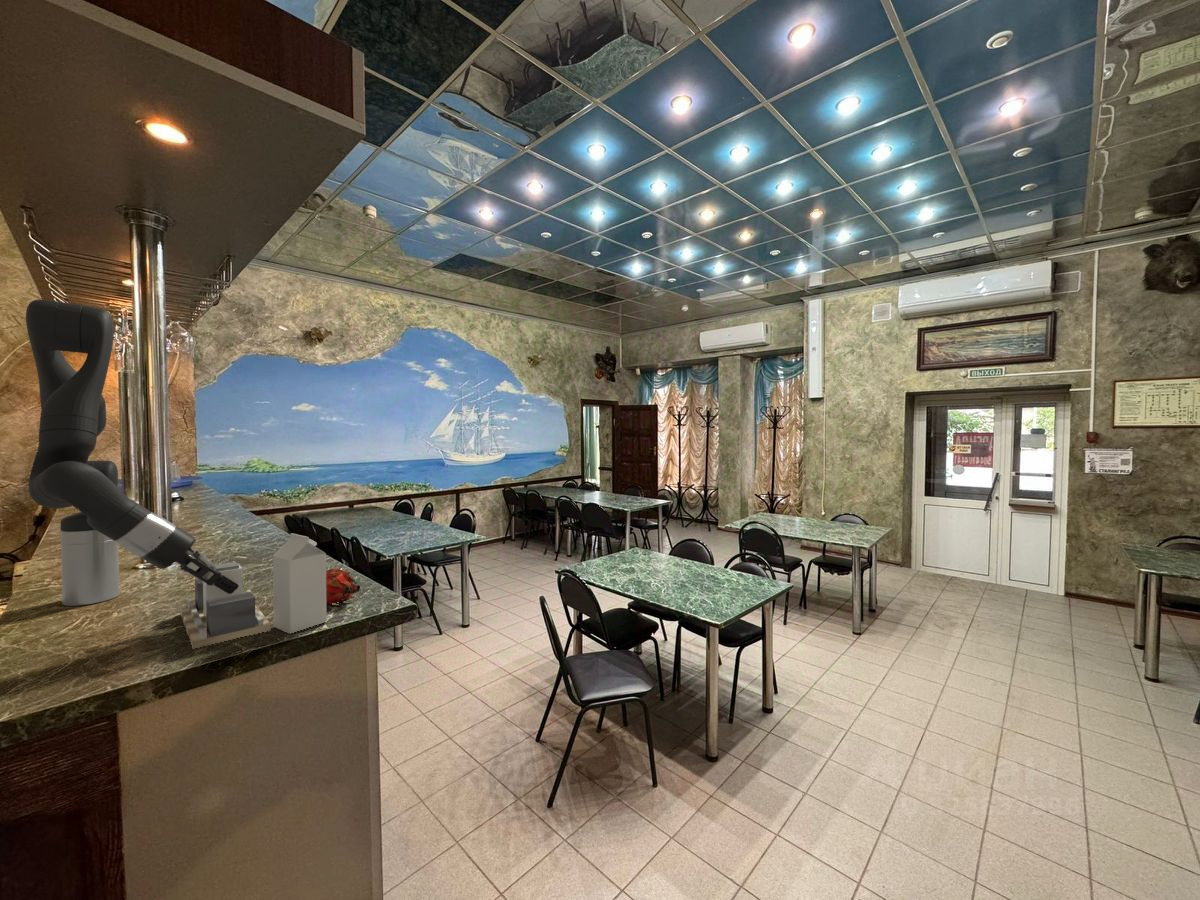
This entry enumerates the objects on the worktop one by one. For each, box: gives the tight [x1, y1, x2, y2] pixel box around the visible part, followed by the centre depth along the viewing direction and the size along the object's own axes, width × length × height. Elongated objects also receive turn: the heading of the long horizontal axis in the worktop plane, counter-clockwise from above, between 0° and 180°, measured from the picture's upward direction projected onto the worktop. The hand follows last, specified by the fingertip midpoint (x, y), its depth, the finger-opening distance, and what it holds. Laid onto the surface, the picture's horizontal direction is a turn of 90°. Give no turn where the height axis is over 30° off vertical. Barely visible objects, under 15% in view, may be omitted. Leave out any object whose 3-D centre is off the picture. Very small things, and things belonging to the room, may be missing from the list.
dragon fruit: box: [326, 567, 361, 605], centre depth 112 cm, size 8×8×12 cm
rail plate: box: [179, 577, 272, 650], centre depth 100 cm, size 24×12×8 cm, turn 46°
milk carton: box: [272, 532, 327, 635], centre depth 98 cm, size 7×7×19 cm
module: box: [203, 561, 244, 623], centre depth 99 cm, size 5×6×11 cm
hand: (231, 585), depth 100 cm, fingers open, 8 cm apart
